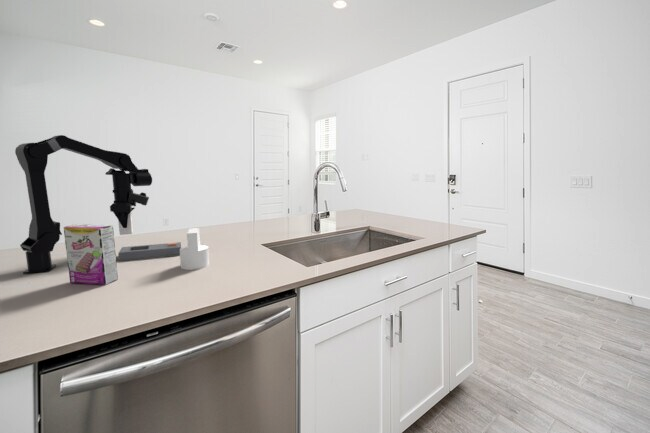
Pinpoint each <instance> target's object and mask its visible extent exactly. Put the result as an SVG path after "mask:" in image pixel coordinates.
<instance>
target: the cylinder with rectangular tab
mask: <svg viewBox="0 0 650 433" xmlns="http://www.w3.org/2000/svg"><path fill="white" fill-rule="evenodd" d="M200 238H201V235H200V228H199V227H198V228H197V227H195V228H194V227H192V228H189V229H188V231H187V232H186V240H187V245H186V246H183V247H182V246H181V248H180V255H179V260H180V263H179V264H180V268H181V269H182V270H185V271H187V270H188V271H190V270H191V271H193V270H200V269H204V268H208V267H209V266H210V250H209V248H210V246H208V245H204V244H201V239H200Z"/></svg>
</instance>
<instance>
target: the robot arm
mask: <svg viewBox="0 0 650 433" xmlns="http://www.w3.org/2000/svg"><path fill="white" fill-rule="evenodd" d="M60 150H66V151H69V152H71V153H75V154H78V155H81V156H84V157H88V158H90V159H93V160H96V161H99V162H101V163H103V164H104V165H106V166H109V167H110V168H109V169H108V171H106V172H105V175H106V176H107V175H108V176H112V178H111V179H112V187H113V189H112V194H113V199H114V200H113V203H112V204H111V205H109V210H110V211H109V212H110V213H111V212H112V213H113V214H114V216H115V217H116V218H117V220H119V222H120V223H121V225H122V227H123V228H127V223H128V214H129V213H130V212H133V211H134V210H135V207H137V204H140V205H142V206H147V205H148V203H149V198H150V197H149V196H147V193H145V192H140V193H136V192H134V189H133V188H132V186H133V187H147V186H148V187H150V186H151V185H152V183H153V177H152V174H151V173H150V172H149V169H148V168H141V169H139V168H138V167H137V166H136V164H135V163H133V161H132V158H131V157H130V155H129V154H127V153H125V152H124V153H123V152H120V151H119V152H118V151H111V150H106V149H102V148H100V147H96V146H93V145H91V144H88V143H85V142H82V141H79V140H77V139H73V138H70V137H68V136H66V135H64V134H60V135H59V134H58V135H53V136H52V137H50V138H47V139H44V140H40V141H37V142H28V143H20V144H19V145H17V146H16V147H15V150H14V154H15V156H16V158H17V159H16V160H17V161H18V163H19V165H20V167H21V169H22V170H23V172H24V175H25V182H26V187H27V193H28V200H29V205H30V214H31V221H30V224H29V227H28V237H27V238H26V239H25V240H24V241H23V242H21V244H19V246H20V248H21V249H22V250H23V251H24V252H25V259H26V266H27V269H25V270H24V271H22V274H23V275H24V274H35V273H44V272H51V271H52V270H54V268H55V267H57V264H54V263H52V255H51V252H53V251H54V248H55V245H56V244H57V243H58V242H59V241H60V240H61V239H60V238H61V237H60V236H62V235H63V233H62V232H61V223H60V222H59V221H54V220H53V218H52V216H51V210H50V201H49V197H48V189H47V183H46V176H45V175H46V174H45V171H46V168H47V166H48V158H49V157H48V156H49V155H51V154H53V153H56V152H58V151H60ZM127 172H128V173H127ZM132 206H133V207H132ZM119 222H118V223H119Z"/></svg>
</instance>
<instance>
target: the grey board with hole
mask: <svg viewBox="0 0 650 433" xmlns="http://www.w3.org/2000/svg"><path fill="white" fill-rule="evenodd" d="M181 243H182V242H167V243H155V244H143V245H130V246H122V247H121V248H120V250H119V251H118V252H117V253H118V261H119V262H122V261H132V260H134V261H135V260H143V259H144V260H145V259H154V258H163V257H174V256H180V248H182V244H181Z"/></svg>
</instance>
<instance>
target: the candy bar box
mask: <svg viewBox="0 0 650 433" xmlns="http://www.w3.org/2000/svg"><path fill="white" fill-rule="evenodd" d="M63 234H64V244H65V251H66V258H67V260H66V261H67V268H68V276H69V283H70V284H80V285H81V284H82V285H99V286H101V285H102V286H106V285H109V284H112V283H113V282H116V281H118V280H119V279H118V278H119V276H118V266H117V256H116V246H115V245H116V244H115V234H114V225H111V224H90V223H89V224H87V223H86V224H85V223H83V224H82V223H77V224H71V225H66V226H63Z"/></svg>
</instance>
